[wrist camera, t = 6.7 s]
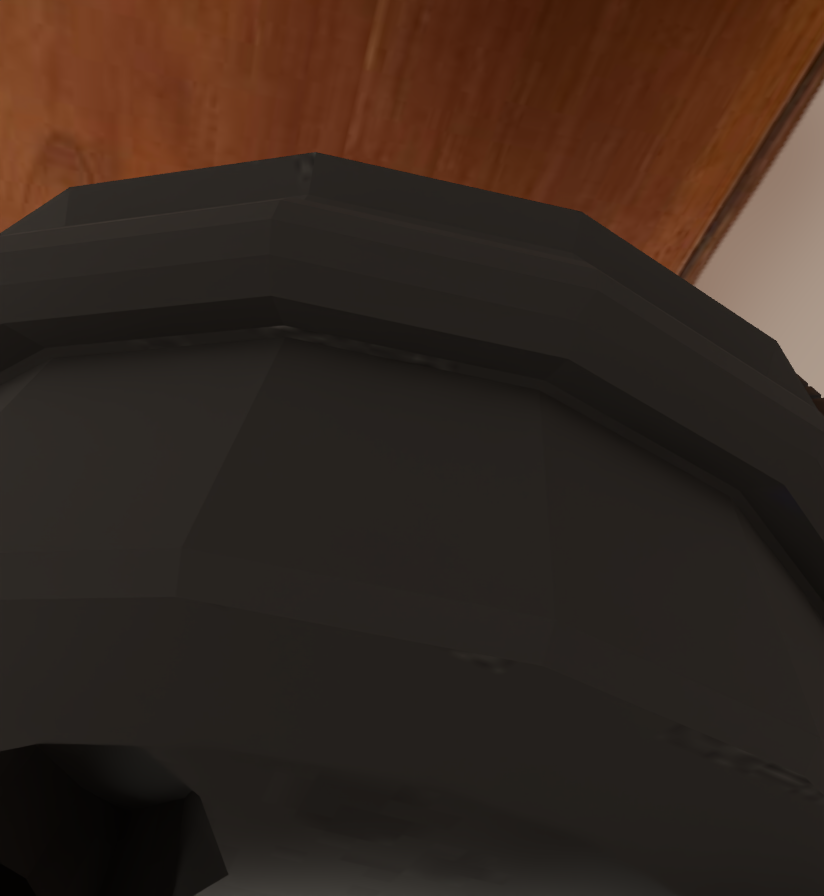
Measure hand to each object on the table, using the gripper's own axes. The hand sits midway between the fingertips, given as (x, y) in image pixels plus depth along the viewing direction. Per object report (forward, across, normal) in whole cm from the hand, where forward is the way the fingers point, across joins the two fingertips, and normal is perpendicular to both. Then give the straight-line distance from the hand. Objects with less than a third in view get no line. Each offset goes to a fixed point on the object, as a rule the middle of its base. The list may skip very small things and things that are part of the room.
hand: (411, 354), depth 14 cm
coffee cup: (+3, 0, 0) cm, 3 cm away
